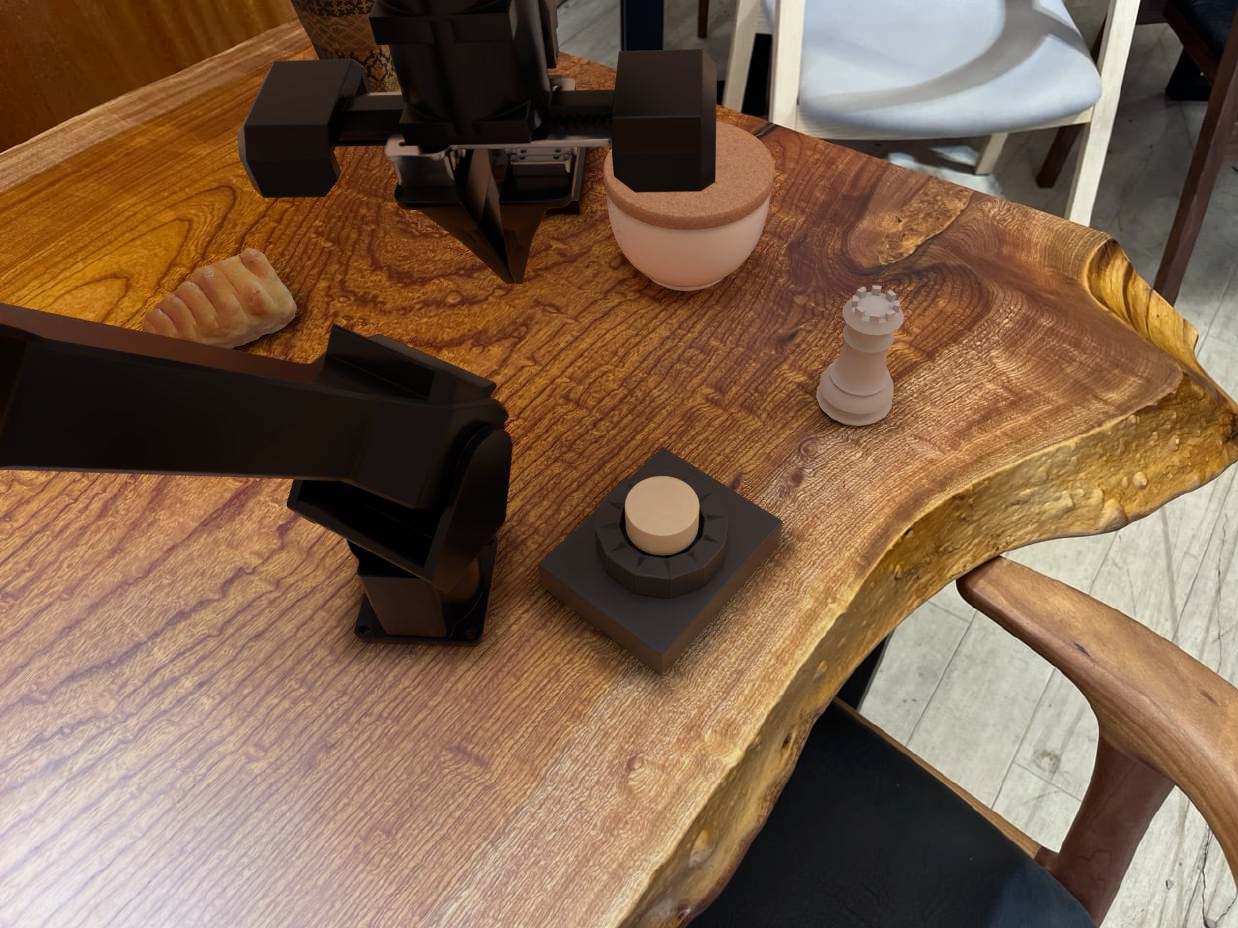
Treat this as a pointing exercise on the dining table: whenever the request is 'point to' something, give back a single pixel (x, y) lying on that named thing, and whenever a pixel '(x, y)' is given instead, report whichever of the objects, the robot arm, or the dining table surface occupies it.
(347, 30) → the ceramic cup
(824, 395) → the rook chess piece
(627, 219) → the trinket box
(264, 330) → the pastry
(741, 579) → the button housing
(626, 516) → the button
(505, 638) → the dining table surface
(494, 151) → the lever handle
